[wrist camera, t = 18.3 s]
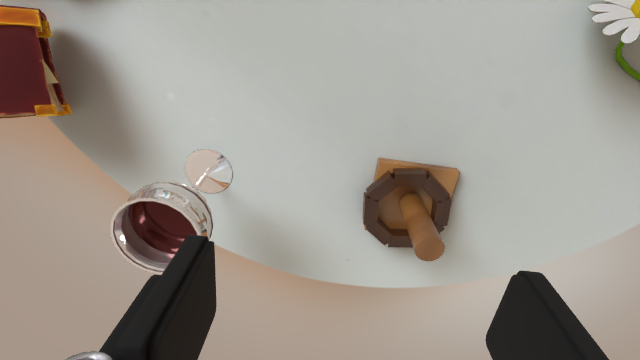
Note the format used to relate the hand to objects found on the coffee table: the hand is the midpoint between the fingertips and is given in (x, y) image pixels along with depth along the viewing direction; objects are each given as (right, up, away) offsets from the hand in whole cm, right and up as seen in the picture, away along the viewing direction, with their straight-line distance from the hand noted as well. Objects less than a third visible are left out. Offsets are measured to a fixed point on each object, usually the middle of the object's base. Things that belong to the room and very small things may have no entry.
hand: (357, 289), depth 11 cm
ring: (+8, +1, +25) cm, 27 cm away
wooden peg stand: (+8, +2, +26) cm, 27 cm away
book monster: (-26, +11, +13) cm, 31 cm away
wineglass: (-13, +4, +26) cm, 29 cm away
